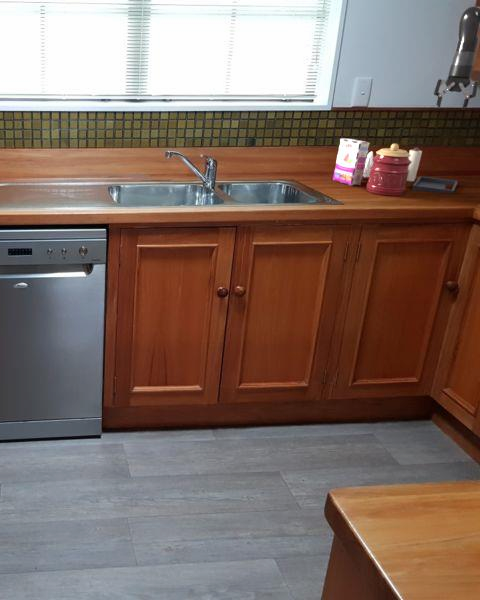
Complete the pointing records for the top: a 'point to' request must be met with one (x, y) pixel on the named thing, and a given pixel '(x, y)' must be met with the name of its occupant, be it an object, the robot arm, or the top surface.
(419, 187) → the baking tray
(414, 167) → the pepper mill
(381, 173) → the kitchen canister
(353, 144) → the candy bar box
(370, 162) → the shaker set
